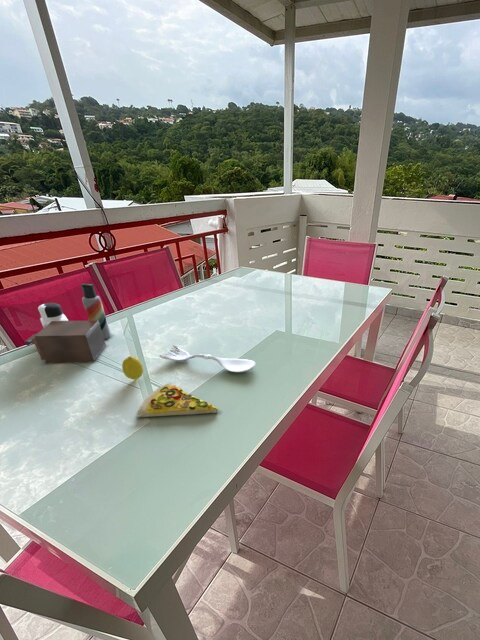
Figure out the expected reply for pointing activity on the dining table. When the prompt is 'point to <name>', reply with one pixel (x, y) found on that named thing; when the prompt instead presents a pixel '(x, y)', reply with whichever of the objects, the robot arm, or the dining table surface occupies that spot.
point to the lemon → (132, 368)
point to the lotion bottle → (95, 308)
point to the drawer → (33, 341)
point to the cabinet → (71, 341)
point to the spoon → (227, 364)
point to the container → (51, 313)
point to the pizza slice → (173, 403)
